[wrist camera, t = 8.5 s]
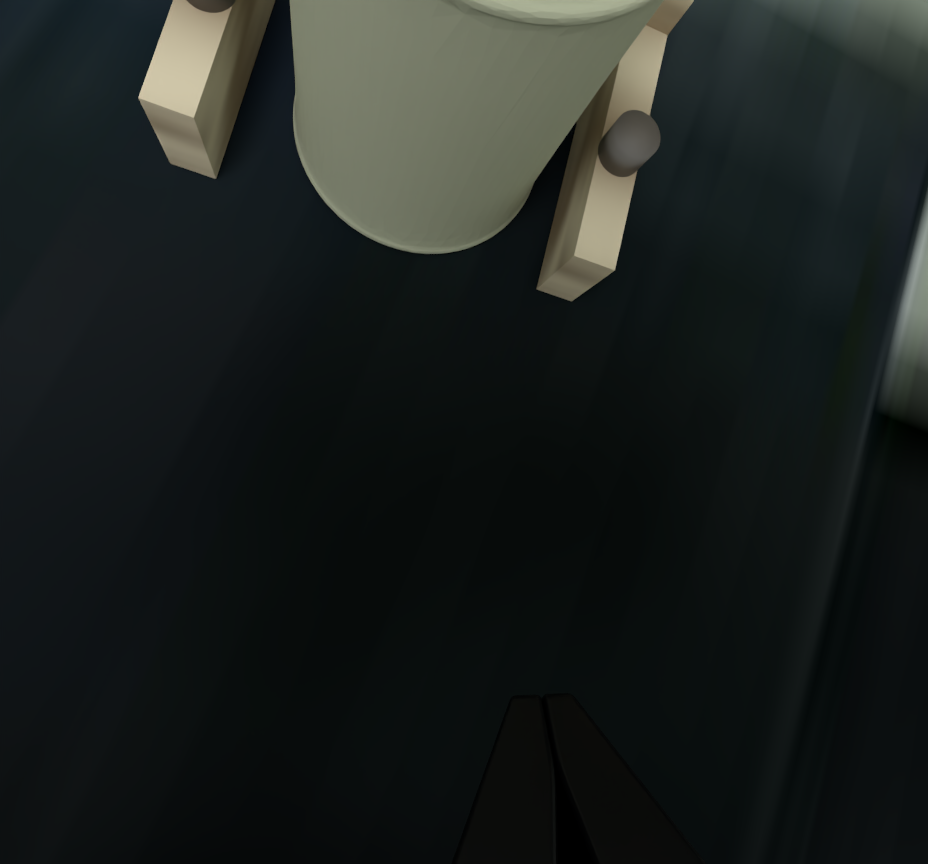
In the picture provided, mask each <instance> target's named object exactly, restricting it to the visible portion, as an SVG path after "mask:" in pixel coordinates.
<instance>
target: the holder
mask: <svg viewBox="0 0 928 864" xmlns="http://www.w3.org/2000/svg"><path fill="white" fill-rule="evenodd" d="M693 1H694V0H664V1H663V2H662V3H661V5H660V6H659V8H658V9H657V10H656V12H655V13H654V14H653V16H652V17H651V19H650V20H649V21H648V23H647V24H646V25H645V27H644V28H643V30H642V31H641V32H640V34H639V35H638V36H637V38H636V39H635V41H634V42H633V43H632V45H631V46H630V47H629V49H628V50H627V51H626V53H625V54H624V56H623V57H622V58H621V60H620V61H619V62H618V64H617V65H616V67H615V68H614V69H613V71H612V72H611V73H610V75H609V76H608V78H607V79H606V80H605V82H604V83H603V84H602V86H601V87H600V89H599V90H598V91H597V93H596V94H595V96H594V97H593V99H592V100H591V101H590V103H589V104H588V106H587V107H586V109H585V110H584V111H583V113H582V114H581V116H580V117H579V119H578V120H577V124H576V128H575V132H574V136H573V141H572V145H571V149H570V153H569V157H568V161H567V165H566V169H565V174H564V178H563V182H562V186H561V190H560V194H559V198H558V202H557V207H556V211H555V215H554V219H553V223H552V227H551V231H550V235H549V239H548V244H547V248H546V252H545V256H544V260H543V264H542V268H541V272H540V277H539V281H538V285H537V290H540V291H543V292H546V293H548V294H551V295H554V296H557V297H560V298H563V299H566V300H569V301H573V300H574V299H576V298H577V297H579V296H580V295H581V294H583V293H584V292H585V291H587V290H588V289H590V288H591V287H592V286H594V285H595V284H597V283H598V282H599V281H601V280H602V279H604V278H605V277H606V276H608V275H609V274H610V273H612V272H613V271H615V267H616V263H617V258H618V254H619V249H620V245H621V241H622V236H623V232H624V227H625V223H626V218H627V214H628V209H629V205H630V200H631V196H632V191H633V187H634V183H635V178H636V174H637V170H638V169H639V168H640V167H641V166H642V165H643V164H644V163H645V162H646V161H647V160H648V159H649V158H650V157H651V156H652V155H653V154H654V153H655V152H656V151H657V149H658V147H659V145H660V131H659V128H658V126H657V124H656V122H655V121H654V120H653V119H652V118H651V117H650V111H651V107H652V102H653V98H654V93H655V89H656V84H657V80H658V75H659V71H660V67H661V62H662V58H663V53H664V49H665V44H666V40H667V35H668V34H669V33H670V31H671V30H672V29H673V27H674V26H675V25H676V24H677V22H678V21H679V20H680V18H681V17H682V16H683V14H684V13H685V12H686V11H687V9H688V8H689V7H690V5H691V4H692V3H693ZM274 3H275V0H173V3H172V5H171V8H170V11H169V14H168V17H167V19H166V22H165V25H164V28H163V30H162V33H161V36H160V39H159V42H158V44H157V47H156V50H155V53H154V56H153V58H152V61H151V64H150V67H149V69H148V72H147V75H146V78H145V81H144V83H143V86H142V89H141V92H140V95H139V97H138V98H139V100H140V102H141V104H142V106H143V108H144V111H145V113H146V115H147V117H148V119H149V121H150V123H151V125H152V127H153V129H154V131H155V133H156V135H157V137H158V139H159V141H160V143H161V145H162V147H163V149H164V151H165V153H166V155H167V157H168V159H169V162H170V163H171V164H173V165H176V166H179V167H182V168H185V169H188V170H191V171H194V172H197V173H200V174H203V175H205V176H208V177H211V178H214V179H216V178H217V175H218V172H219V169H220V166H221V163H222V160H223V157H224V154H225V151H226V148H227V145H228V142H229V139H230V136H231V133H232V130H233V127H234V124H235V121H236V118H237V115H238V112H239V109H240V105H241V102H242V99H243V96H244V93H245V90H246V87H247V84H248V81H249V78H250V75H251V72H252V69H253V66H254V63H255V60H256V57H257V54H258V51H259V48H260V45H261V42H262V39H263V36H264V33H265V30H266V27H267V24H268V21H269V18H270V15H271V12H272V9H273V6H274Z"/></svg>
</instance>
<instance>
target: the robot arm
mask: <svg viewBox="0 0 928 864" xmlns="http://www.w3.org/2000/svg"><path fill="white" fill-rule="evenodd" d="M452 864H706V863H705V862H704V861H703V859H702V858H701V857H700V855H699V854H698V853H697V852H696V850H695V849H694V848H693V847H692V845H691V844H690V843H689V842H688V840H687V839H686V838H685V836H684V835H683V834H682V833H681V831H680V830H679V829H678V828H677V826H676V825H675V824H674V823H673V821H672V820H671V819H670V817H669V816H668V815H667V814H666V812H665V811H664V810H663V809H662V807H661V806H660V805H659V804H658V802H657V801H656V800H655V798H654V797H653V796H652V795H651V793H650V792H649V791H648V790H647V788H646V787H645V786H644V785H643V783H642V782H641V781H640V779H639V778H638V777H637V776H636V774H635V773H634V772H633V771H632V769H631V768H630V767H629V766H628V764H627V763H626V762H625V760H624V759H623V758H622V757H621V755H620V754H619V753H618V752H617V750H616V749H615V748H614V747H613V745H612V744H611V743H610V741H609V740H608V739H607V738H606V736H605V735H604V734H603V733H602V731H601V730H600V729H599V728H598V726H597V725H596V724H595V722H594V721H593V720H592V719H591V717H590V716H589V715H588V714H587V712H586V711H585V710H584V708H583V707H582V706H581V705H580V703H579V702H578V701H577V700H576V698H575V697H574V696H573V695H571V694H568V693H564V694H546V695H544V696H543V698H542V699H541V697H540V696H538V695H517V696H513V697H512V698H511V699H510V701H509V704H508V707H507V709H506V712H505V715H504V718H503V721H502V724H501V726H500V729H499V732H498V735H497V738H496V740H495V743H494V746H493V749H492V752H491V754H490V757H489V760H488V763H487V766H486V768H485V771H484V774H483V777H482V780H481V783H480V785H479V788H478V791H477V794H476V797H475V799H474V802H473V805H472V808H471V811H470V813H469V816H468V819H467V822H466V825H465V827H464V830H463V833H462V836H461V839H460V842H459V844H458V847H457V850H456V853H455V856H454V858H453V861H452Z"/></svg>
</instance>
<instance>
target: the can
mask: <svg viewBox="0 0 928 864" xmlns="http://www.w3.org/2000/svg"><path fill="white" fill-rule="evenodd" d="M663 1H664V0H290V13H291V27H292V42H293V56H294V70H295V92H296V93H295V99H294V105H293V128H294V137H295V142H296V146H297V150H298V154H299V157H300V160H301V162H302V165H303V167H304V169H305V172H306V174H307V176H308V178H309V179H310V181H311V183H312V184H313V186H314V188H315V189H316V191H317V192H318V194H319V195H320V196H321V198H322V199H323V200H324V201H325V203H326V204H327V205H328V206H329V207H330V208H331V209H332V210H333V211H334V212H335V213H336V214H337V215H338V216H339V217H340V218H341V219H342V220H343V221H345V222H346V223H347V224H348V225H349V226H351V227H352V228H354V229H355V230H357V231H358V232H360V233H361V234H363V235H365V236H366V237H368V238H370V239H372V240H374V241H376V242H378V243H381V244H383V245H386V246H388V247H392V248H395V249H398V250H403V251H407V252H412V253H422V254H443V253H450V252H456V251H461V250H464V249H467V248H470V247H473V246H476V245H478V244H480V243H482V242H484V241H486V240H488V239H489V238H491V237H493V236H494V235H496V234H497V233H498V232H500V231H501V230H502V229H504V228H505V227H506V226H507V225H508V224H509V223H510V222H511V221H512V220H513V219H514V217H515V216H516V215H517V214H518V212H519V211H520V209H521V208H522V207H523V205H524V203H525V202H526V200H527V198H528V196H529V194H530V192H531V189H532V187H533V184H534V182H535V180H536V179H537V177H538V176H539V174H540V173H541V172H542V170H543V169H544V167H545V166H546V164H547V163H548V161H549V160H550V158H551V157H552V156H553V154H554V153H555V151H556V150H557V148H558V147H559V146H560V144H561V143H562V141H563V140H564V138H565V137H566V136H567V134H568V133H569V131H570V130H571V128H572V127H573V126H574V124H575V123H576V121H577V120H578V119H579V117H580V116H581V114H582V113H583V111H584V110H585V109H586V107H587V106H588V104H589V103H590V101H591V100H592V99H593V97H594V96H595V94H596V93H597V91H598V90H599V89H600V87H601V86H602V84H603V83H604V82H605V80H606V79H607V78H608V76H609V75H610V73H611V72H612V71H613V69H614V68H615V67H616V65H617V64H618V62H619V61H620V60H621V58H622V57H623V56H624V54H625V53H626V51H627V50H628V49H629V47H630V46H631V45H632V43H633V42H634V41H635V39H636V38H637V36H638V35H639V34H640V32H641V31H642V30H643V28H644V27H645V25H646V24H647V23H648V21H649V20H650V19H651V17H652V16H653V14H654V13H655V12H656V10H657V9H658V8H659V6H660V5H661V3H662V2H663Z"/></svg>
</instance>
